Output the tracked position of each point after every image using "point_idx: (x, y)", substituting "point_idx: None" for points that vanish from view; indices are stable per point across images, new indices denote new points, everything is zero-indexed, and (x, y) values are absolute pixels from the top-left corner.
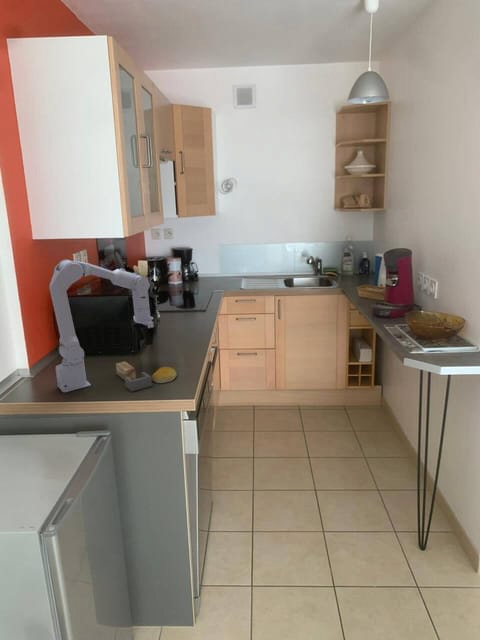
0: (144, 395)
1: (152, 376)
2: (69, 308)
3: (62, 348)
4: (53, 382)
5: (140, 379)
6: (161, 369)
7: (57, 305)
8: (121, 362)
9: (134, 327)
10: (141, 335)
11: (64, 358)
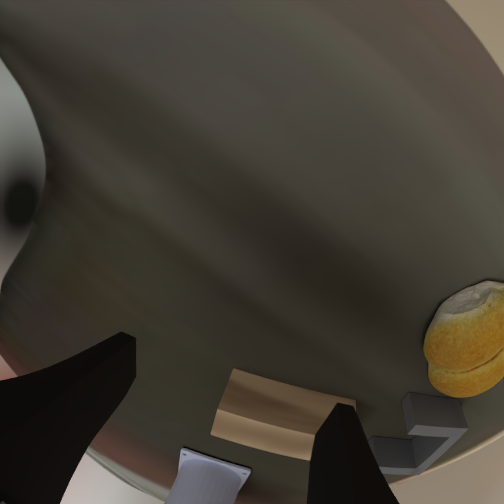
0: (467, 437)
1: (446, 394)
2: None
3: None
4: (142, 460)
5: (440, 454)
6: (475, 365)
7: None
8: (219, 421)
9: (61, 493)
10: (106, 389)
11: None
